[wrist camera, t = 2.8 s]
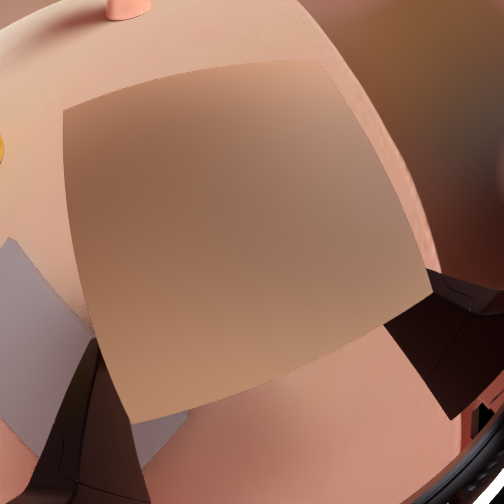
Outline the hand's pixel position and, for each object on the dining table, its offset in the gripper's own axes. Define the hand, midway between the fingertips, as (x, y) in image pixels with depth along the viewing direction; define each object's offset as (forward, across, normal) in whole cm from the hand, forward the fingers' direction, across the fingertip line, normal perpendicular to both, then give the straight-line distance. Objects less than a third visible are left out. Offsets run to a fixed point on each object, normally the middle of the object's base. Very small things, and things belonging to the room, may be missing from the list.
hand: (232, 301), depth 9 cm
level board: (+5, +14, +8) cm, 17 cm away
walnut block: (+8, 0, +6) cm, 9 cm away
